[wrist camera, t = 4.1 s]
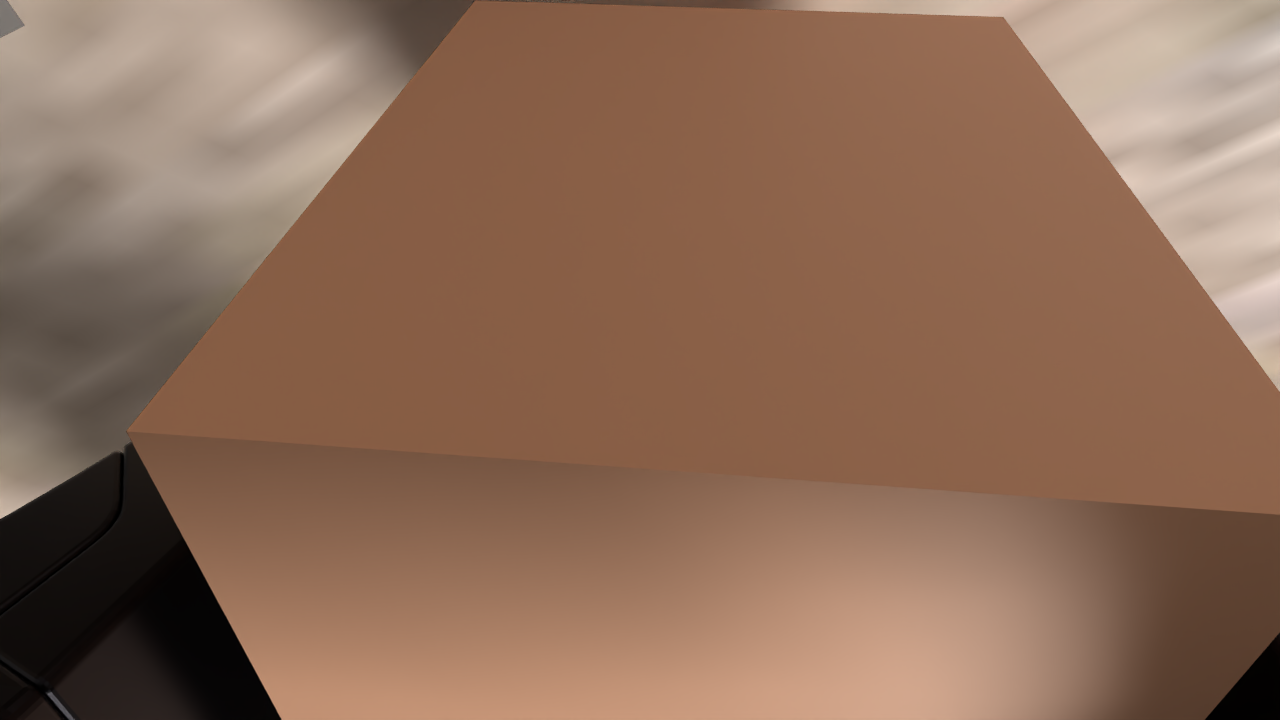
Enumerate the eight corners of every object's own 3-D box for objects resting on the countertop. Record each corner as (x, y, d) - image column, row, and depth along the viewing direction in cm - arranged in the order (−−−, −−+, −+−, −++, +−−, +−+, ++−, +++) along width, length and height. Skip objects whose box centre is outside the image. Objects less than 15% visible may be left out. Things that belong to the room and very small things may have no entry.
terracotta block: (896, 411, 11) (1007, 948, 6) (520, 386, 11) (367, 878, 7) (1002, 17, 8) (1375, 522, 3) (475, -1, 8) (126, 430, 4)
